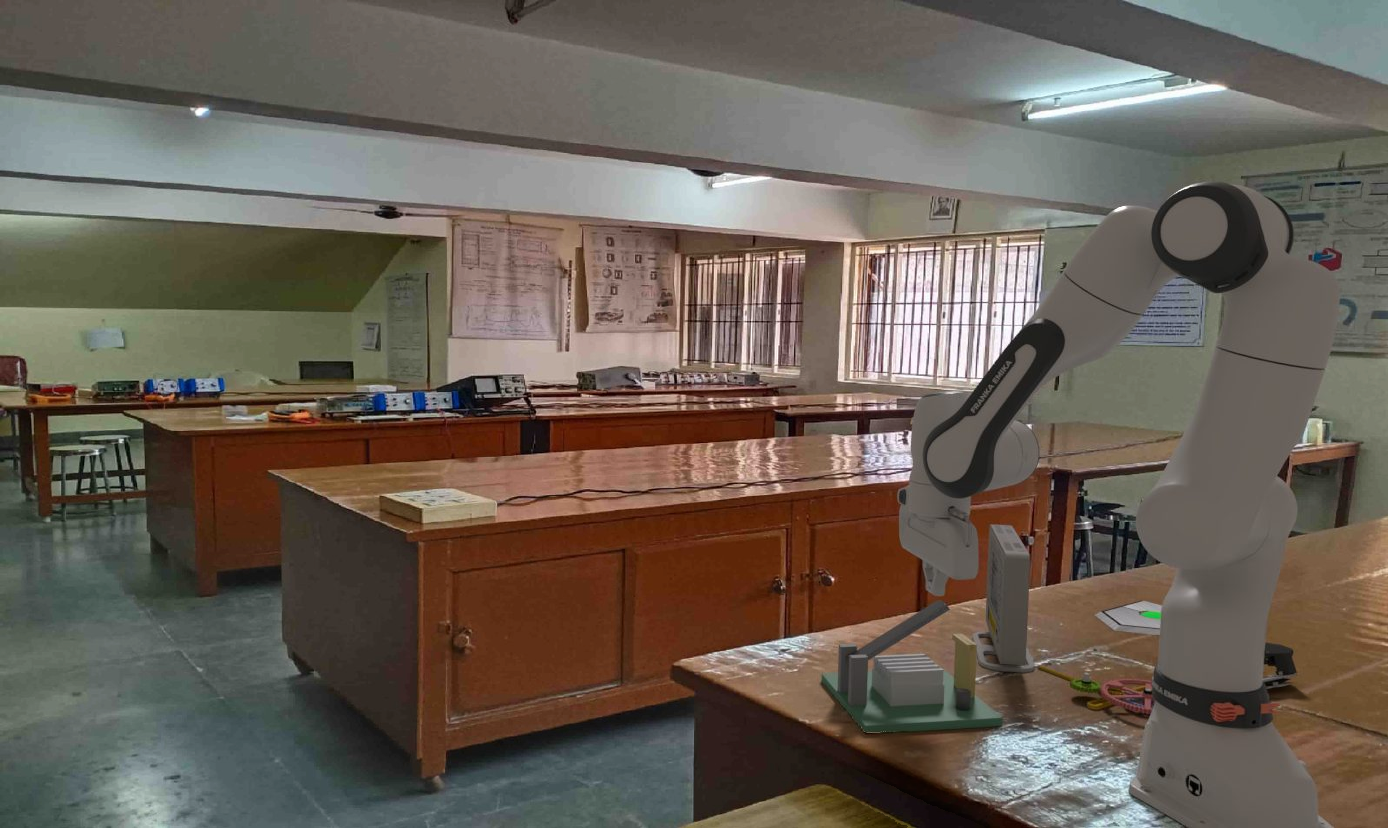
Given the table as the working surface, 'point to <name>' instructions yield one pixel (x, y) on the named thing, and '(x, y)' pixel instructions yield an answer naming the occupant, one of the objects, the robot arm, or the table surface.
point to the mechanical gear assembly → (1113, 692)
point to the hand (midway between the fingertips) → (934, 593)
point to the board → (916, 712)
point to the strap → (902, 630)
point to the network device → (1006, 602)
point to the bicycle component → (1279, 664)
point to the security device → (1134, 617)
